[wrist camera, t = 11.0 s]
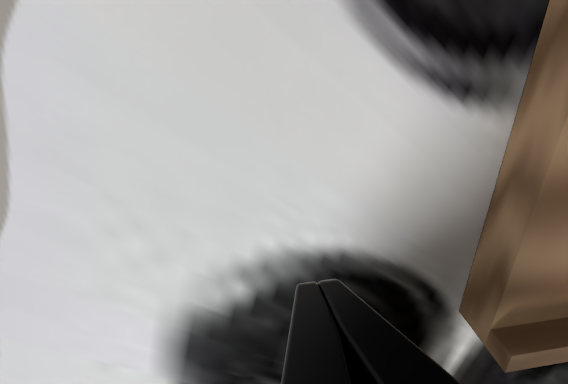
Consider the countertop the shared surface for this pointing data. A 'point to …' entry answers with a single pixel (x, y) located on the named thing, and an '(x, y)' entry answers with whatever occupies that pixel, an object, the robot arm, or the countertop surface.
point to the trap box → (529, 221)
